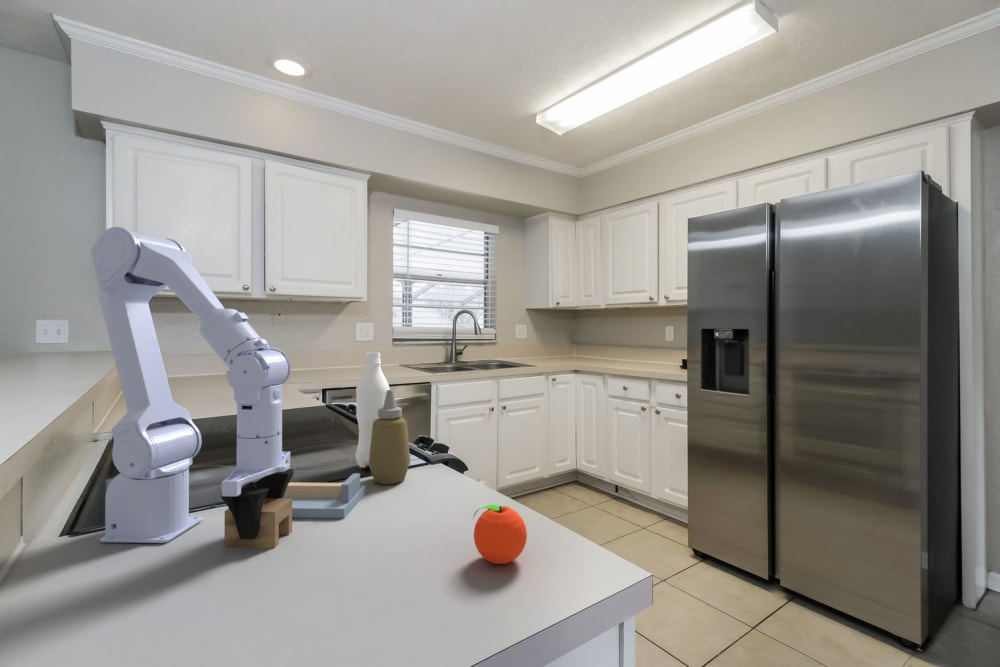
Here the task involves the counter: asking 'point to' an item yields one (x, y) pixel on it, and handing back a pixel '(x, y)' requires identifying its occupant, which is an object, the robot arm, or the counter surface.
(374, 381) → the water bottle
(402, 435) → the squeeze bottle
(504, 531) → the clementine
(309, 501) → the cleat board
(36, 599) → the counter surface
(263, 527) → the cabinet block
